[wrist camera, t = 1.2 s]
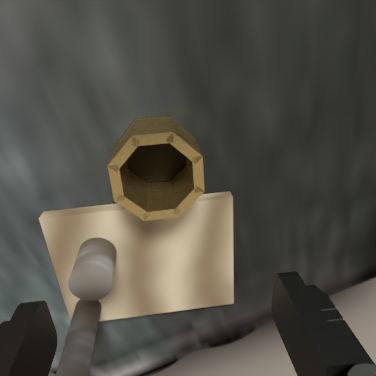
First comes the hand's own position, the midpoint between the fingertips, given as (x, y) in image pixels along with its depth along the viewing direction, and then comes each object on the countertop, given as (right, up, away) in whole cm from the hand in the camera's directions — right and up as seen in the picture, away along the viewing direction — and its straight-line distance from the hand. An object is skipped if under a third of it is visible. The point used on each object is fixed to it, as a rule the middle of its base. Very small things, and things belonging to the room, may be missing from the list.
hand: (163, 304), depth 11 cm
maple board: (-3, -2, +19) cm, 19 cm away
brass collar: (-2, +7, +14) cm, 16 cm away
